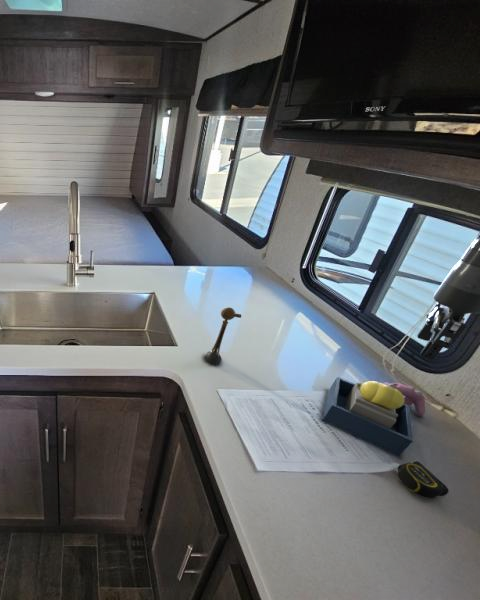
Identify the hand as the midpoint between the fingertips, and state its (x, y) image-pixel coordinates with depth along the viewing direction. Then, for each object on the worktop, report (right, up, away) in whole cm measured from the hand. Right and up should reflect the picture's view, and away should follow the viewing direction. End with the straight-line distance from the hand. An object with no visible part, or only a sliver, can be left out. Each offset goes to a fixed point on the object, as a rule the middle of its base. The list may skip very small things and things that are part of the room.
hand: (424, 347), depth 73 cm
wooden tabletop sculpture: (-35, -9, +30) cm, 47 cm away
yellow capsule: (-3, -14, +8) cm, 17 cm away
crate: (-4, -21, +12) cm, 25 cm away
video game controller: (+11, -19, +18) cm, 28 cm away
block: (-4, -21, +12) cm, 25 cm away
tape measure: (-4, -30, -2) cm, 30 cm away
